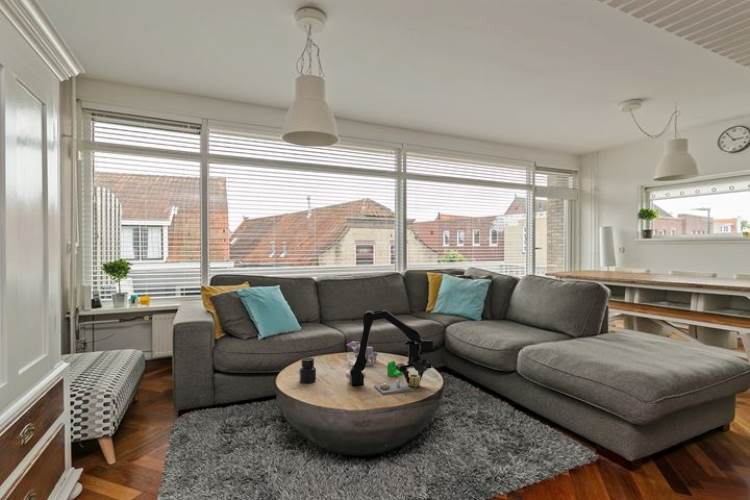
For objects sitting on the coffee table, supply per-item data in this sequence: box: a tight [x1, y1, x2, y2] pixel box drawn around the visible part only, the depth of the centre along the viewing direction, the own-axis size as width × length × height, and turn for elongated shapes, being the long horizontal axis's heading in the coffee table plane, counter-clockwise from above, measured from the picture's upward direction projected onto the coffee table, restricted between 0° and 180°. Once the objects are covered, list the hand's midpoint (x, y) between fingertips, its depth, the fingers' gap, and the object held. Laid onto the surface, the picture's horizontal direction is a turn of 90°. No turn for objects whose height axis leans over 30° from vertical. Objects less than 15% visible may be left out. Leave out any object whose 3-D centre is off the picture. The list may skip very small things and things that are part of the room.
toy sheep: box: [346, 340, 378, 367], centre depth 259 cm, size 20×11×14 cm, turn 70°
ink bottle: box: [298, 356, 317, 384], centre depth 225 cm, size 10×9×12 cm
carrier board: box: [373, 379, 411, 396], centre depth 212 cm, size 15×12×4 cm
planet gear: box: [406, 373, 421, 387], centre depth 217 cm, size 6×6×4 cm
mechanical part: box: [386, 360, 404, 378], centre depth 238 cm, size 12×6×8 cm, turn 143°
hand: (413, 382), depth 217 cm, fingers closed on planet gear, 6 cm apart
